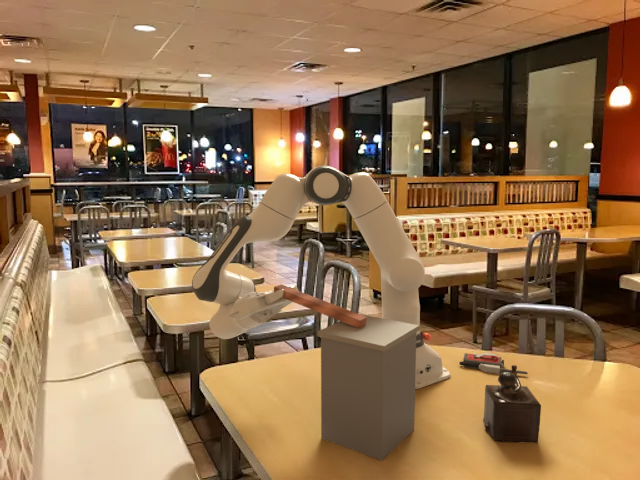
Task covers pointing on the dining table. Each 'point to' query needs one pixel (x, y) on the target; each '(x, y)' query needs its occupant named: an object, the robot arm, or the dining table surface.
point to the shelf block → (368, 384)
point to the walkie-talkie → (486, 363)
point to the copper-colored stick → (323, 307)
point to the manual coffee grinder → (511, 410)
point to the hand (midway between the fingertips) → (288, 290)
